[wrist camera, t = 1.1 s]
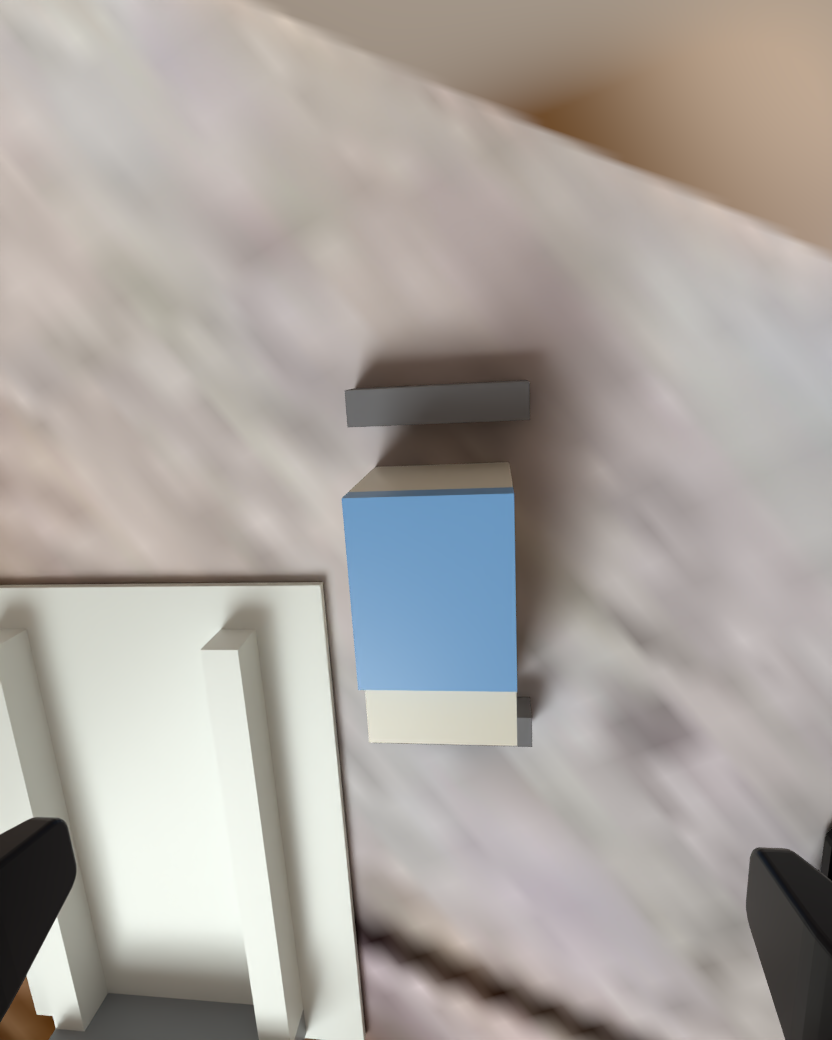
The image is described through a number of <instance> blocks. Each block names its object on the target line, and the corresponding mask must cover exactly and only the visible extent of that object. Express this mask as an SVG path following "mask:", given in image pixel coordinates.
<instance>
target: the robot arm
mask: <svg viewBox="0 0 832 1040" xmlns="http://www.w3.org/2000/svg"><path fill="white" fill-rule="evenodd" d="M76 873H77V865H76V860H75V855H74V851H73V847H72V842H71V838H70V833H69V829H68V826H67V823H66V822H65V821H64V820H63V819H61V818H57V817H34V818H30V819H28V820H26V821H24V822H22V823H21V824H19V825H17V826H15V827H13V828H11V829H9V830H7V831H5V832H4V833H2V834H0V1022H1V1020H2V1018H3V1017H4V1015H5V1013H6V1012H7V1010H8V1008H9V1007H10V1005H11V1003H12V1001H13V999H14V997H15V996H16V994H17V992H18V990H19V988H20V987H21V985H22V983H23V981H24V979H25V977H26V975H27V973H28V971H29V969H30V968H31V966H32V964H33V962H34V960H35V958H36V956H37V954H38V952H39V950H40V948H41V946H42V945H43V943H44V941H45V939H46V937H47V935H48V933H49V931H50V929H51V927H52V925H53V923H54V922H55V920H56V918H57V916H58V914H59V912H60V910H61V908H62V906H63V904H64V902H65V900H66V899H67V897H68V895H69V893H70V891H71V889H72V887H73V884H74V881H75V878H76ZM746 911H747V918H748V922H749V926H750V929H751V933H752V936H753V939H754V942H755V945H756V948H757V952H758V955H759V958H760V961H761V964H762V967H763V970H764V974H765V977H766V980H767V983H768V986H769V989H770V993H771V996H772V999H773V1002H774V1005H775V1008H776V1012H777V1015H778V1018H779V1021H780V1024H781V1027H782V1031H783V1034H784V1037H785V1040H832V829H831V830H830V831H829V832H828V833H827V834H826V837H825V842H824V849H823V857H822V865H821V872H820V871H818V870H817V869H816V868H814V867H813V866H812V865H811V864H809V863H808V862H807V861H805V860H804V859H803V858H802V857H800V856H799V855H798V854H796V853H795V852H793V851H791V850H789V849H784V848H762V847H759V848H756V849H754V850H753V851H752V853H751V856H750V864H749V875H748V886H747V897H746Z"/></svg>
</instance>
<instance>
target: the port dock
mask: <svg viewBox="0 0 832 1040" xmlns="http://www.w3.org/2000/svg"><path fill="white" fill-rule="evenodd" d="M34 817H57V818H61V819H63V820H64V821H65V822H66V823H67V826H68V829H69V833H70V838H71V842H72V847H73V851H74V855H75V860H76V865H77V873H76V878H75V881H74V884H73V887H72V889H71V891H70V893H69V895H68V897H67V899H66V900H65V902H64V904H63V906H62V908H61V910H60V912H59V914H58V916H57V918H56V920H55V922H54V923H53V925H52V927H51V929H50V931H49V933H48V935H47V937H46V939H45V941H44V943H43V945H42V946H41V948H40V950H39V952H38V954H37V956H36V958H35V960H34V962H33V964H32V966H31V968H30V969H29V971H28V973H27V979H28V983H29V987H30V990H31V994H32V998H33V1002H34V1006H35V1009H36V1013H37V1015H48V1016H53V1019H54V1023H55V1027H56V1030H55V1031H54V1033H53V1034H52V1036H51V1037H50V1039H49V1040H304V1039H305V1038H311V1039H322V1040H365V1036H366V1034H365V1023H364V1013H363V1002H362V992H361V981H360V971H359V960H358V950H357V939H356V929H355V918H354V907H353V897H352V886H351V876H350V865H349V855H348V844H347V834H346V823H345V813H344V802H343V792H342V781H341V770H340V760H339V749H338V739H337V728H336V718H335V707H334V697H333V686H332V676H331V665H330V654H329V644H328V633H327V623H326V612H325V602H324V591H323V582H276V583H163V584H50V585H0V834H2V833H4V832H5V831H7V830H9V829H11V828H13V827H15V826H17V825H19V824H21V823H22V822H24V821H26V820H28V819H30V818H34Z"/></svg>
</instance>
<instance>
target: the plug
mask: <svg viewBox="0 0 832 1040" xmlns="http://www.w3.org/2000/svg"><path fill="white" fill-rule="evenodd" d="M342 507H343V519H344V530H345V542H346V554H347V565H348V577H349V588H350V600H351V612H352V623H353V635H354V647H355V658H356V670H357V681H358V690H365V698H366V710H367V722H368V734H369V743H412V744H454V745H497V746H517V698H516V692H517V646H516V583H515V519H514V490H513V483H512V477H511V471H510V464H509V462H499V463H470V464H441V465H413V466H384V467H375V468H374V469H373V470H371V471H370V472H369V473H368V474H367V475H366V476H365V477H364V478H363V479H362V480H361V481H360V482H359V483H358V484H356V485H355V486H354V487H353V488H352V489H351V490H350V491H349V492H348V493H347V494H346V495H345V496H344V497H343V498H342Z"/></svg>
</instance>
